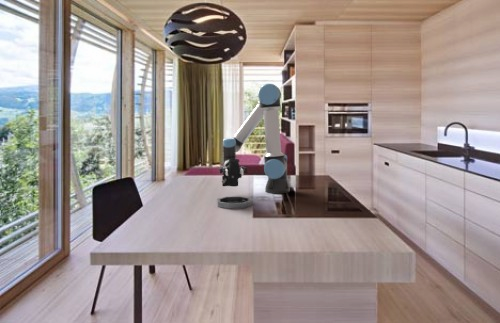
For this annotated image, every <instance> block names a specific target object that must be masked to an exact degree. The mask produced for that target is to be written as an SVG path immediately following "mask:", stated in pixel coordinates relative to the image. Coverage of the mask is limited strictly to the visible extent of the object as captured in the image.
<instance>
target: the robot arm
mask: <svg viewBox="0 0 500 323" xmlns="http://www.w3.org/2000/svg"><path fill="white" fill-rule="evenodd" d="M257 97H258V100H257V105H256V106H255V107H254V108H253V110H252V112H251V113H250V114H249V116H248V117H247V118H246V119H245V120H244V122H243V123H242V125H241V126H240V128H239V129H238V130H237V132H236V133H235V134H234V136H233V137H232V138H228V137H227V138H226V137H225V138H223V140H222V156H223V157H222V166H219V174H222V176H224V175H225V174H226V176H228V175H229V163H230V162H229V160H230V159H237V154H236V153H237V152H239V151H241V148H242V146H243V145H244V144H245V143H246V141H247V139H248V138H249V137H250V136H251V134H253V132H254V130H255V129H256V128H257V127H258V125H259V124H260V123H261V121H262V120H263V125H264V137H265V138H264V139H265V150H266V153H265V154H264V155H263V156H264V157H263V158H264V166H263V170H264V171H263V172H264V174H265V175H266V176H267V181H266V185H265V188H264V190H265V192H266V193H268V194H287V193H290V191H291V190H290V189H291V187H290V185H289V182H288V155H286V154H284V153H283V152H282V144H281V141H282V140H281V130H280V129H281V127H280V118H279V110H280V108H281V98H282V92H281V89H280V88H279V87H278V86H277V85H275V84H273V83H266V84H263V85H262V86H261V87H259V89H258V92H257ZM239 172H240V174H241V175H242V176H244V174H247V173H248V168H247V167H245V166H244V165H241V166H239Z"/></svg>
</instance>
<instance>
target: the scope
mask: <svg viewBox="0 0 500 323" xmlns="http://www.w3.org/2000/svg"><path fill="white" fill-rule="evenodd" d="M229 162H230V163H229V174H228V176H226V174H225V175H222V176H221V177H222V180H221V183H222V184H221V185H222V187H238V186H239V179H241V178H242V176H243V175H241V173H240V172H239V167H240V159H237V158H236V159H230V160H229Z"/></svg>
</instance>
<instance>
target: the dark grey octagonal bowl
mask: <svg viewBox="0 0 500 323" xmlns="http://www.w3.org/2000/svg"><path fill="white" fill-rule="evenodd" d="M216 205H217V207H219V208H223V209H226V210H229V209H231V210H233V209H234V210H235V209H236V210H237V209H246V208H248V207H252V206H253V200H252V198H251V197H247V196H240V195H239V196H233V195H232V196H224V197H220V198H217V199H216Z"/></svg>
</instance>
